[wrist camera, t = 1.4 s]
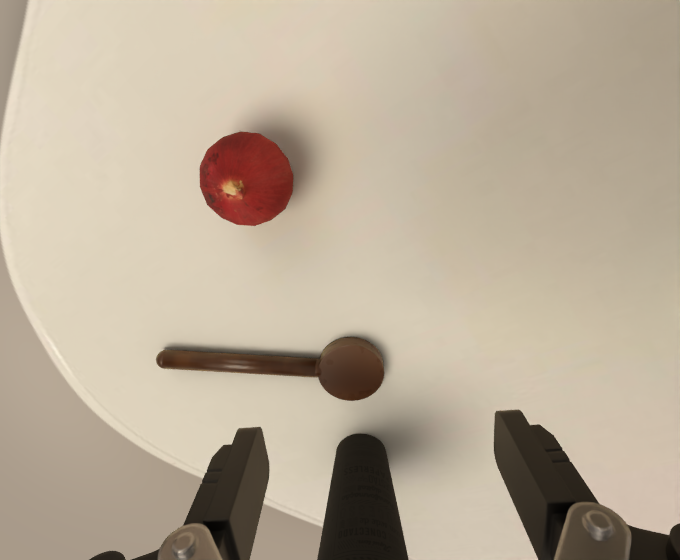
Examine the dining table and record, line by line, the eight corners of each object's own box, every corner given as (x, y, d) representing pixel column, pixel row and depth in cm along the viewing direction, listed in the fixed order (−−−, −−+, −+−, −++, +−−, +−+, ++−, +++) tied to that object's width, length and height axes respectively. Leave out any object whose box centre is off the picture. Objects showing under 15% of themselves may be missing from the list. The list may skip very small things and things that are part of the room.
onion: (238, 221, 31) (200, 253, 23) (207, 145, 29) (156, 154, 21) (310, 199, 30) (295, 226, 22) (284, 120, 28) (257, 120, 20)
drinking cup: (374, 409, 37) (393, 704, 18) (415, 463, 39) (469, 775, 20) (306, 442, 38) (260, 742, 20) (349, 492, 41) (343, 804, 22)
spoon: (157, 325, 34) (148, 335, 33) (385, 338, 34) (387, 348, 32) (165, 379, 36) (157, 391, 35) (380, 392, 36) (381, 404, 34)
